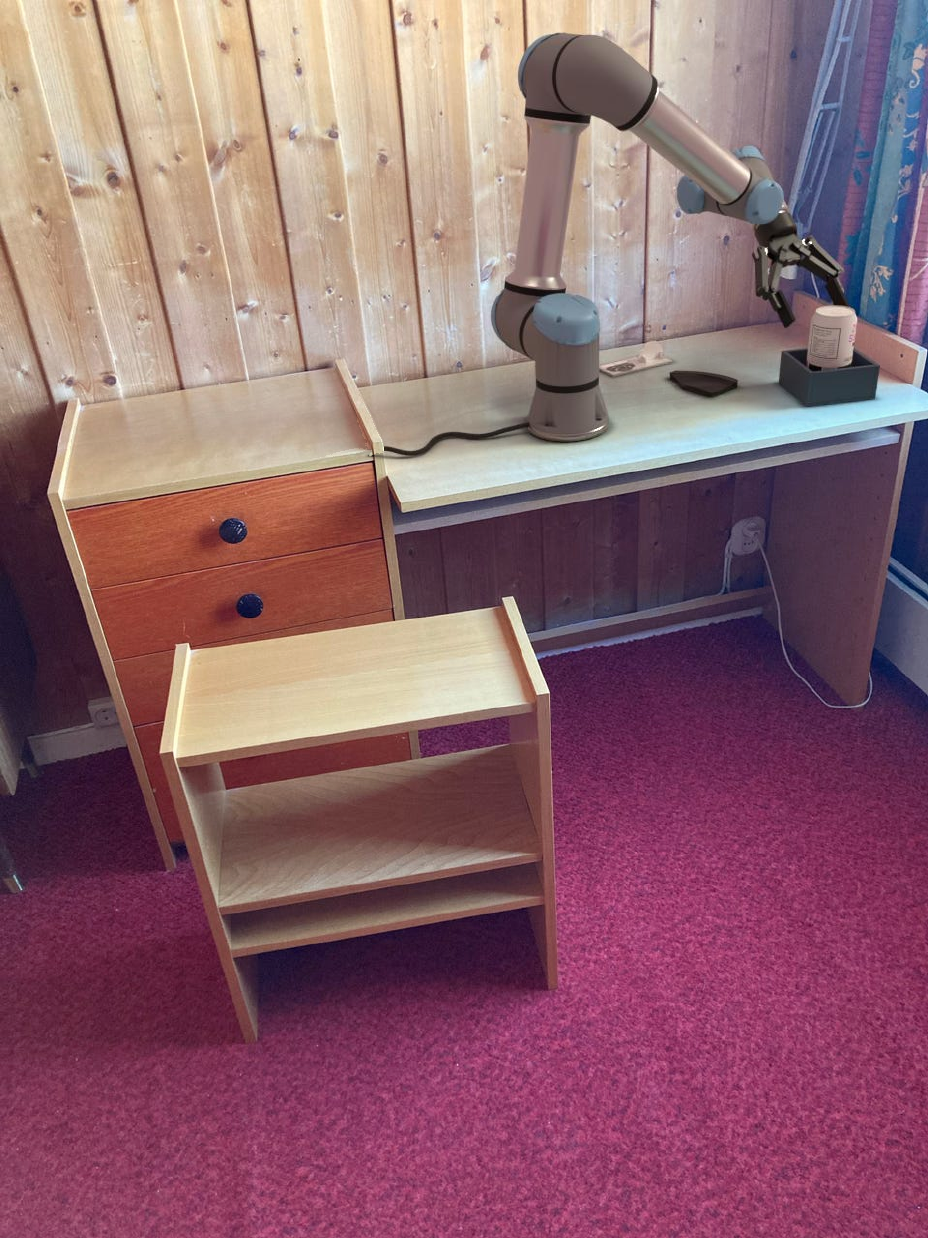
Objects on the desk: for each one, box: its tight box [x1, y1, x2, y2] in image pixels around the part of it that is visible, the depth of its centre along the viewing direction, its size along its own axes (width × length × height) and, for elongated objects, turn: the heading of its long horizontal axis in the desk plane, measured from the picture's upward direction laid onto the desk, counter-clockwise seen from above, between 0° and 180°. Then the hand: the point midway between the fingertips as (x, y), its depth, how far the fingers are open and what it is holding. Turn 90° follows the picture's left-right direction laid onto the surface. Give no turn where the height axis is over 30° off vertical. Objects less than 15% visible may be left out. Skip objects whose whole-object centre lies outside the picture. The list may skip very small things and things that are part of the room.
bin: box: [778, 347, 881, 408], centre depth 202 cm, size 14×14×7 cm
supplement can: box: [806, 305, 858, 372], centre depth 199 cm, size 8×8×15 cm
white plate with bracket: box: [599, 340, 673, 378], centre depth 222 cm, size 15×7×4 cm, turn 117°
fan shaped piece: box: [668, 370, 739, 398], centre depth 210 cm, size 8×14×2 cm, turn 36°
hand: (817, 317), depth 199 cm, fingers open, 13 cm apart
